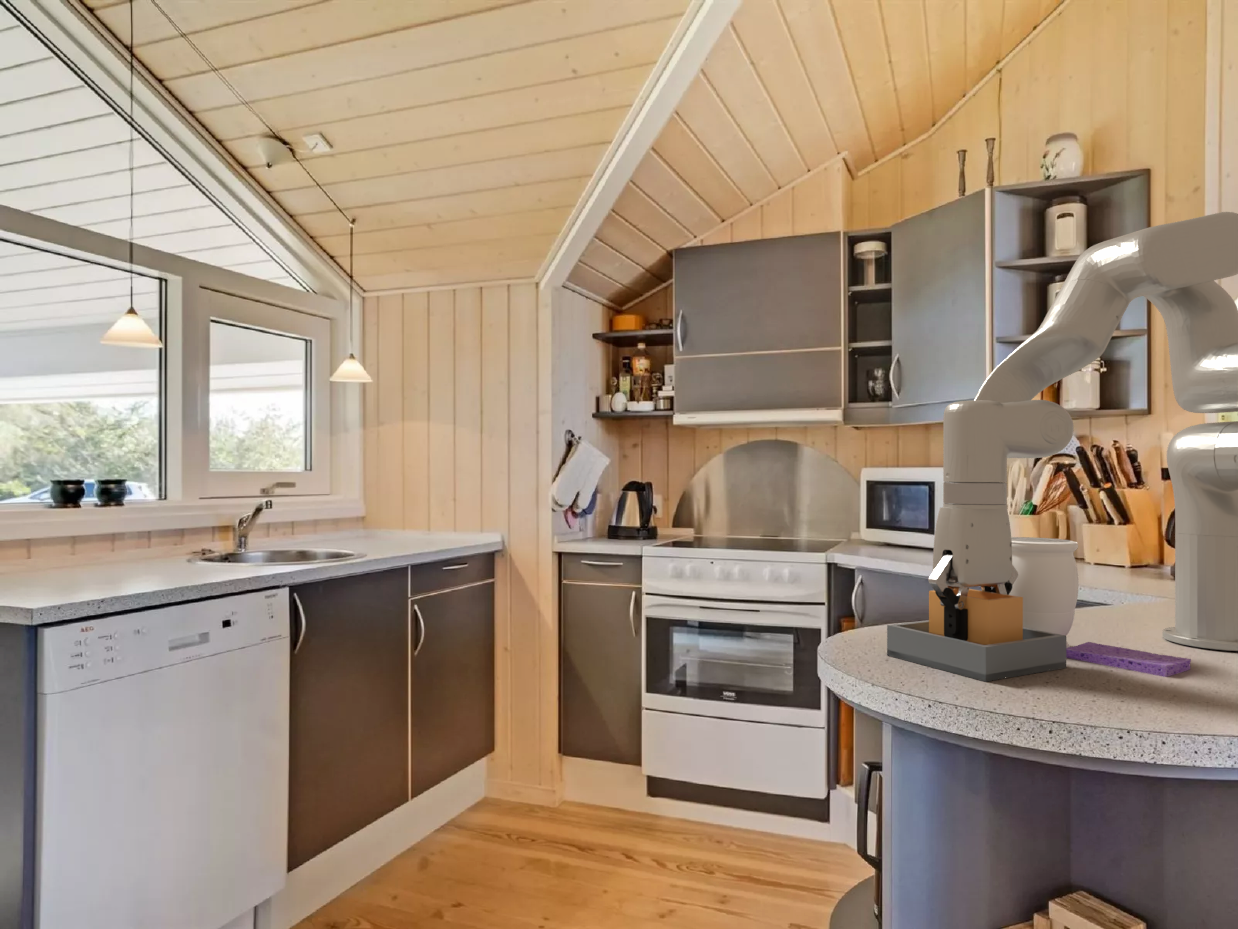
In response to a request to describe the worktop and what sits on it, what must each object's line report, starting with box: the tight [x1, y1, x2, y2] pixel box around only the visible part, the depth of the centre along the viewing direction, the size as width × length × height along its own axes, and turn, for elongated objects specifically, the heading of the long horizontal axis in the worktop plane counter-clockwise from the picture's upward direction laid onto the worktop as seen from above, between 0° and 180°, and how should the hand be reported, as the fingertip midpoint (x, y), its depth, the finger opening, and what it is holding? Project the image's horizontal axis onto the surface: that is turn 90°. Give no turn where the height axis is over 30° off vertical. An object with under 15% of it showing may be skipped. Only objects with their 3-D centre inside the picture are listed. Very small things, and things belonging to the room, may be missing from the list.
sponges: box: [1066, 641, 1192, 678], centre depth 103 cm, size 7×13×2 cm, turn 33°
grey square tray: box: [886, 619, 1067, 682], centre depth 104 cm, size 15×15×4 cm
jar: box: [1009, 536, 1080, 648], centre depth 112 cm, size 11×10×15 cm
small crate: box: [928, 588, 1023, 645], centre depth 104 cm, size 6×9×6 cm
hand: (974, 635), depth 104 cm, fingers closed on small crate, 6 cm apart
